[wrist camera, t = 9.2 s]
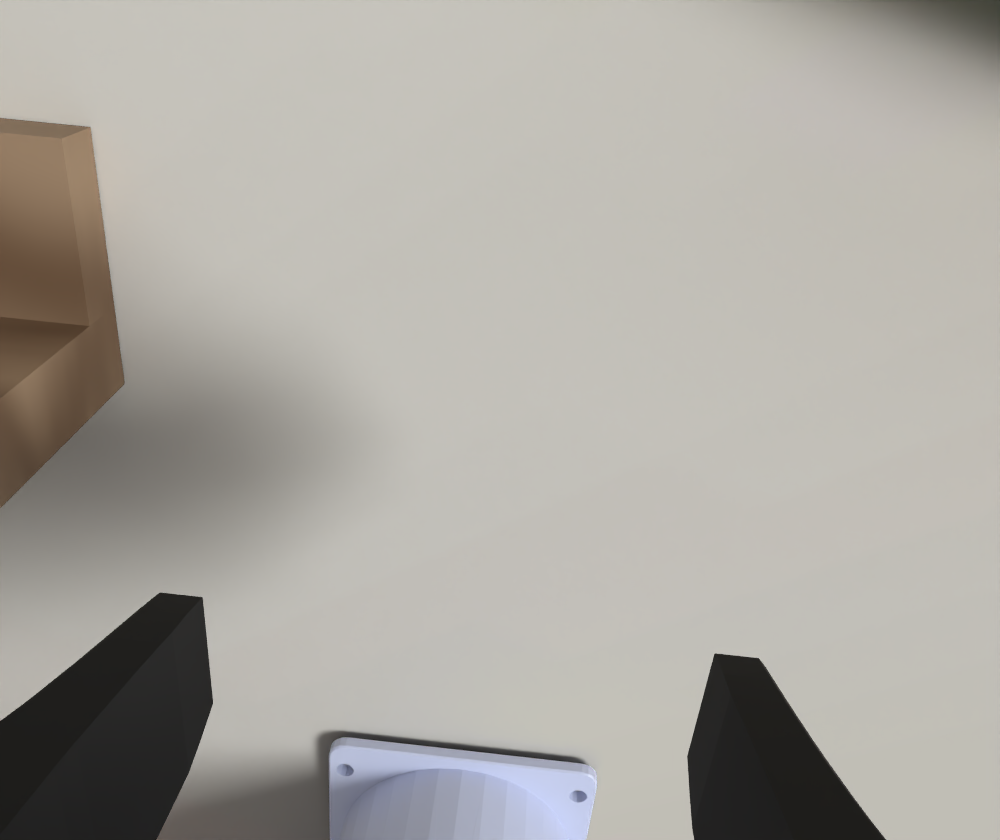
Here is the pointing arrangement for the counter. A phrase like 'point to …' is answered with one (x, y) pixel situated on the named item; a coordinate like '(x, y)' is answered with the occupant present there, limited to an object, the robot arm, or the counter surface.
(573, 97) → the counter surface
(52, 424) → the slotted wooden block
